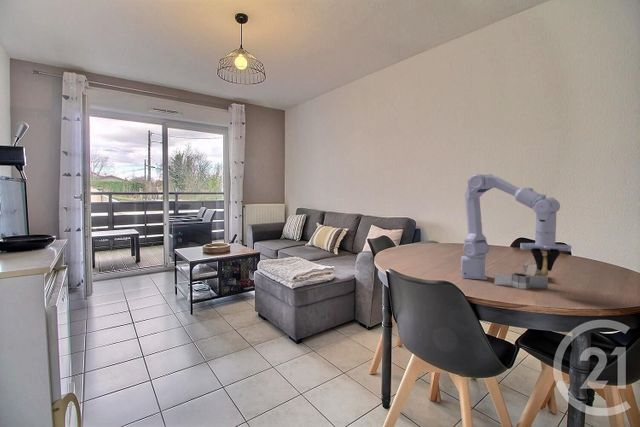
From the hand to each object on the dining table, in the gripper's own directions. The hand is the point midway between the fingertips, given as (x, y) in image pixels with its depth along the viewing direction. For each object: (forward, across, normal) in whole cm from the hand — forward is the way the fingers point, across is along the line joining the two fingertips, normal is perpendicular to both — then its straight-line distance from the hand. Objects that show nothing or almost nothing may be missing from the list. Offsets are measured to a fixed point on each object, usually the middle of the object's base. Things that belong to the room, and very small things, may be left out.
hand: (543, 269), depth 107 cm
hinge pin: (+2, 0, 0) cm, 2 cm away
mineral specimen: (+9, +3, +23) cm, 25 cm away
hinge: (+9, -5, +7) cm, 12 cm away
